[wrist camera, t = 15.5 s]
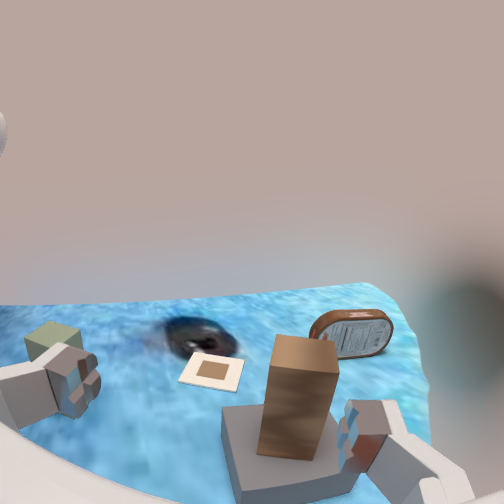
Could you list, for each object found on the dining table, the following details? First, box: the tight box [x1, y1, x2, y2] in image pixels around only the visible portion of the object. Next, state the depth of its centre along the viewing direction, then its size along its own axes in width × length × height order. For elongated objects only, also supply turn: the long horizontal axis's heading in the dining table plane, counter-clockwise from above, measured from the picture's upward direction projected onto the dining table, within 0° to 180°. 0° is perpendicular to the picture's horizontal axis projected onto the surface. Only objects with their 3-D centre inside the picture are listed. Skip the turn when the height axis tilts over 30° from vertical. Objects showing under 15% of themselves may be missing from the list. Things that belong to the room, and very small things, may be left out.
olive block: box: [24, 321, 90, 419], centre depth 30 cm, size 5×5×10 cm
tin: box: [309, 309, 394, 359], centre depth 48 cm, size 15×3×8 cm, turn 99°
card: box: [178, 352, 245, 393], centre depth 43 cm, size 8×8×1 cm
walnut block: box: [256, 334, 340, 461], centre depth 24 cm, size 5×5×10 cm
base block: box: [221, 404, 360, 504], centre depth 26 cm, size 11×11×5 cm
